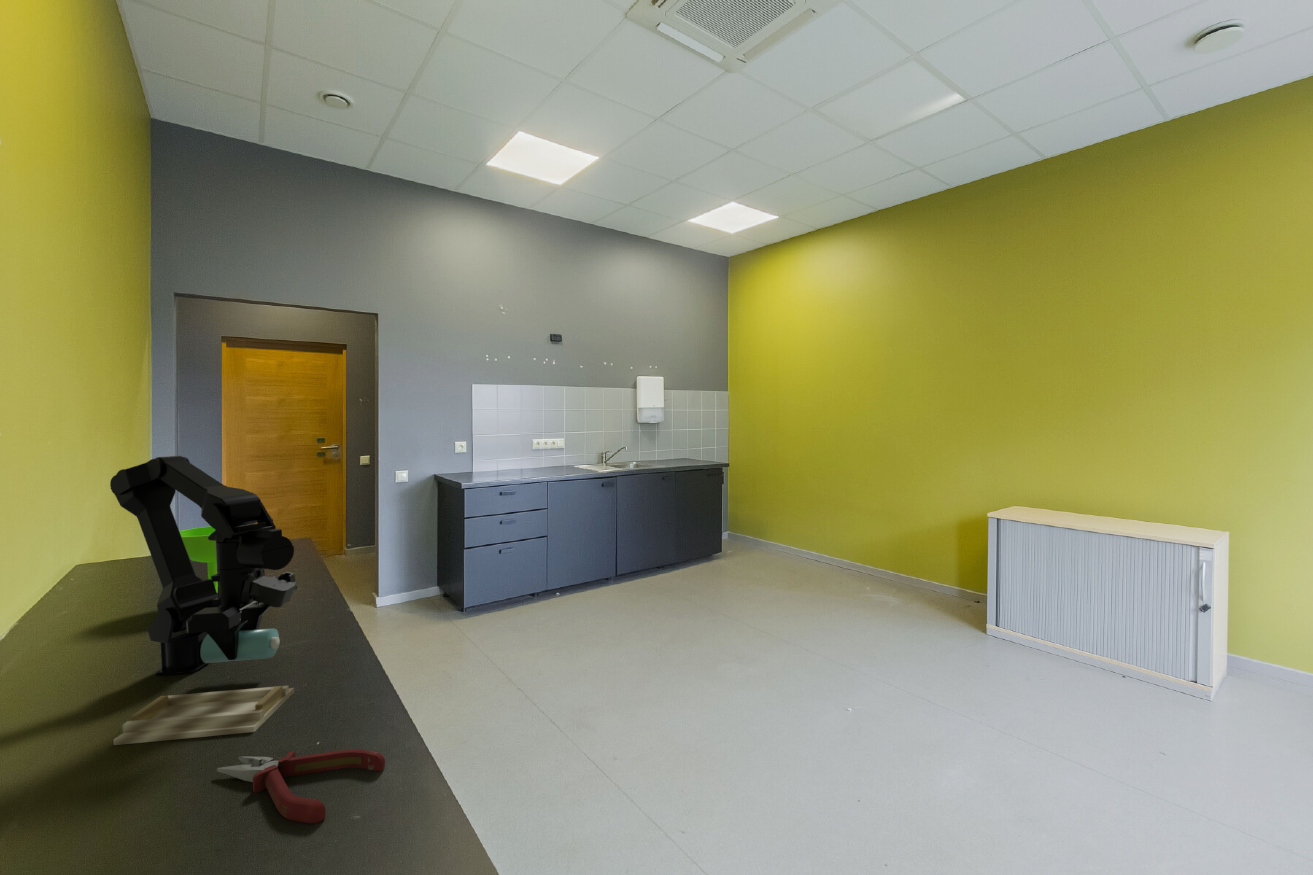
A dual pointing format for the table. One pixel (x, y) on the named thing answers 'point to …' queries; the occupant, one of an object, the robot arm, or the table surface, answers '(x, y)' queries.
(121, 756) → the table surface
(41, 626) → the table surface
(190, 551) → the green tapered container
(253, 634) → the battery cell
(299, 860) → the table surface
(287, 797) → the pliers
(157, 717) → the wooden tray
